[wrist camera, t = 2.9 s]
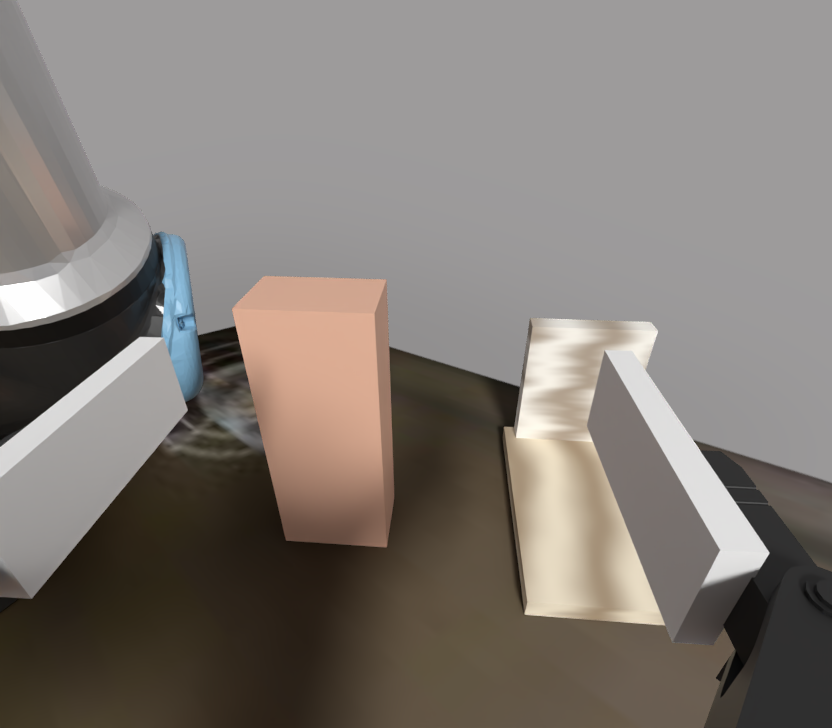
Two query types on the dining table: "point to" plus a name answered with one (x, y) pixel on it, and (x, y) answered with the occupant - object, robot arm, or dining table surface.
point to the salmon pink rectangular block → (323, 403)
